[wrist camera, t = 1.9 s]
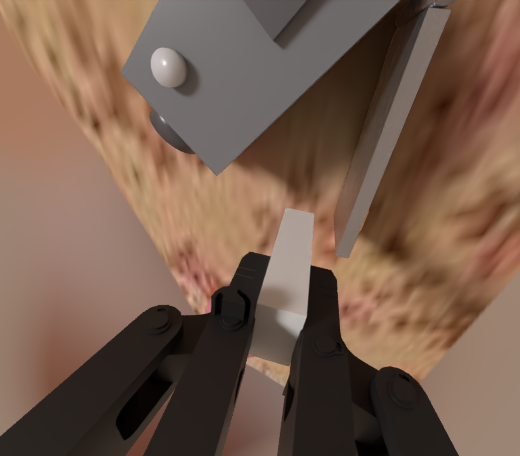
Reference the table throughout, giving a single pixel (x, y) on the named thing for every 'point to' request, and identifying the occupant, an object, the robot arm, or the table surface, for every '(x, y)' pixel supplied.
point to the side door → (388, 113)
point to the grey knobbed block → (238, 65)
